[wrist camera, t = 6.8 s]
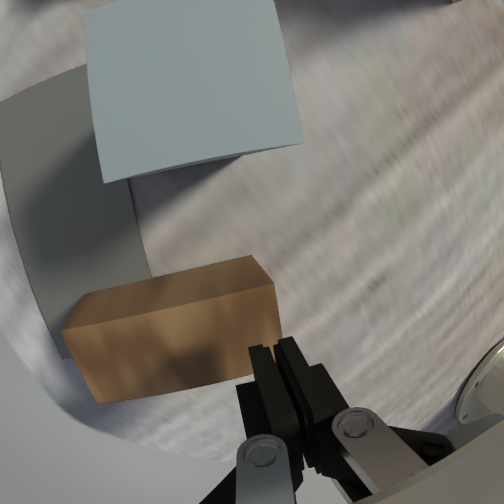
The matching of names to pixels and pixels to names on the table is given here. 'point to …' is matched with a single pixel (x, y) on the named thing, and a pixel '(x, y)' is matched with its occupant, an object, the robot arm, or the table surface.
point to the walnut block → (173, 330)
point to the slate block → (186, 83)
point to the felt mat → (65, 199)
